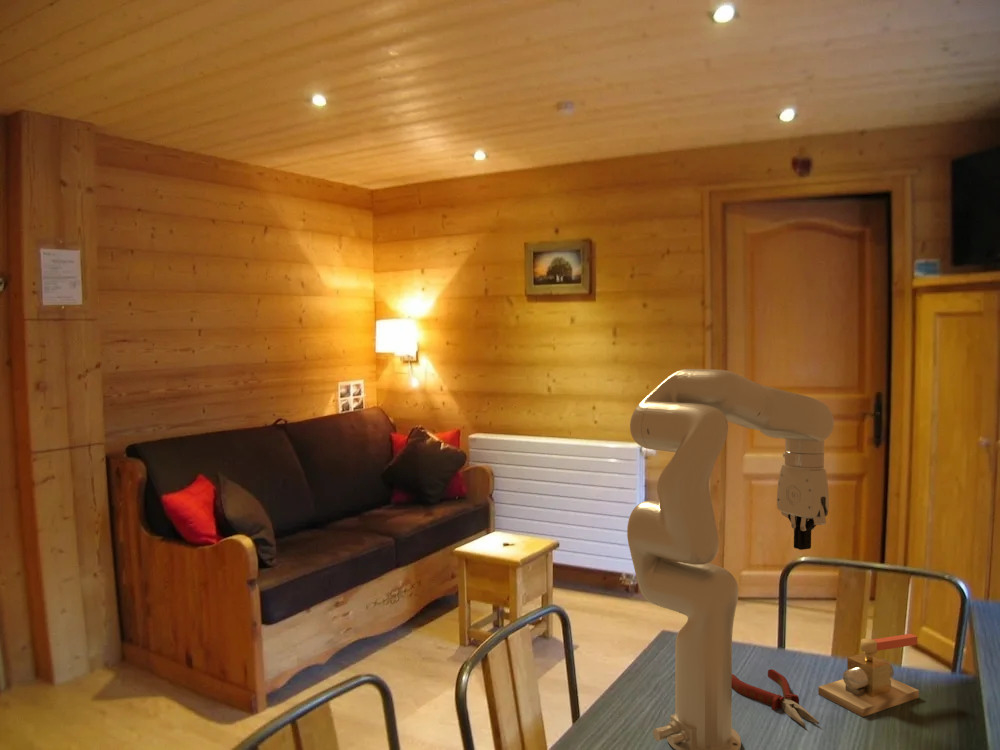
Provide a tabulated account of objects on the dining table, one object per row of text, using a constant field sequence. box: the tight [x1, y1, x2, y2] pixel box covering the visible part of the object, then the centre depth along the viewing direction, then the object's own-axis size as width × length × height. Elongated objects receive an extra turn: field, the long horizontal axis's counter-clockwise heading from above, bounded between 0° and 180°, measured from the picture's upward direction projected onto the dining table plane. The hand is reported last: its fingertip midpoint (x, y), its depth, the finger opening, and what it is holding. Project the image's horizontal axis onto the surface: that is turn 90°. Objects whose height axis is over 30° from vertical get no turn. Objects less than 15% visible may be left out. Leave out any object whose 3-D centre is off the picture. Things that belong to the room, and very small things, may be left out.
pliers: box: [732, 668, 820, 727], centre depth 143 cm, size 12×20×3 cm, turn 14°
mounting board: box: [817, 677, 920, 718], centre depth 145 cm, size 16×10×2 cm, turn 116°
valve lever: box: [860, 633, 918, 655], centre depth 146 cm, size 12×3×2 cm, turn 106°
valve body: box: [842, 652, 895, 697], centre depth 145 cm, size 10×6×7 cm, turn 116°
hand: (802, 548), depth 154 cm, fingers closed
